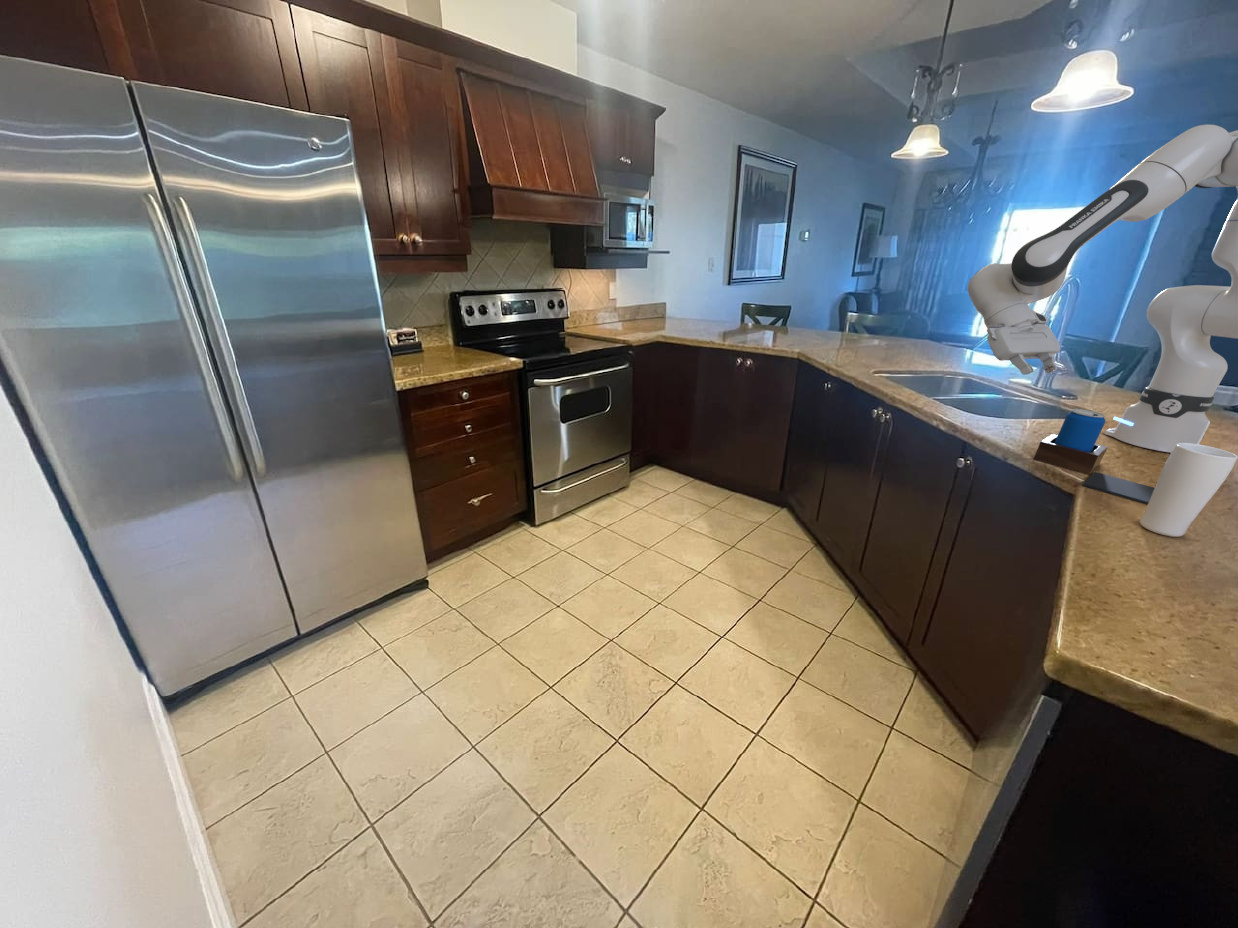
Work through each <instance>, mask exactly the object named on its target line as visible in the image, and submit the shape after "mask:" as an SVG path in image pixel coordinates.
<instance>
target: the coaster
mask: <svg viewBox="0 0 1238 928" xmlns="http://www.w3.org/2000/svg"><path fill="white" fill-rule="evenodd" d="M1081 486H1082V487H1085V488H1087V489H1088V488H1089V489H1093V490H1096V491H1100V492H1103V493H1107V494H1110V495H1114V496H1116V497H1120V498H1124V499H1127V500H1131V501H1134V502H1138V503H1141V504H1145V505H1148V503H1149V501H1150V498H1151V496H1152V493H1153V491H1154V488H1155V486H1154V487H1153V486H1151V485H1146V484H1143V483H1139V482H1135V481H1131V480H1127V479H1123V478H1119V477H1116V476H1112V475H1109V474H1104V473H1101V472H1098V471H1097V472H1096V471H1093V472H1092V474H1090V476H1089V477H1088V478H1087V480H1085V481H1084V482H1083V483H1082V485H1081Z"/></svg>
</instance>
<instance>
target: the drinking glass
mask: <svg viewBox="0 0 1238 928" xmlns="http://www.w3.org/2000/svg"><path fill="white" fill-rule="evenodd" d="M1200 444H1201V443H1200ZM1200 444H1193V443H1178V444H1176V446H1175V448H1174V449H1173V451H1172V452H1171V453H1170V454H1169V455H1168V457H1167V458H1166V461H1165V463H1164V465H1163V466H1162V469H1161V472H1160V474H1159V476H1158V478H1157V481H1156V484H1155V486H1154V491H1153V493H1152V496H1151V498H1150V501H1149V503H1148V504H1146V505H1147V506H1146V508H1145V510H1144V512H1143V514H1142V516H1141V518H1140V520H1139V524H1140V525H1141V527H1143V528H1144V529H1146V530H1148V531H1150V532H1152V533H1155V534H1158V535H1162V536H1166V537H1173V538H1179V537H1182V536H1184V535H1185V534H1186V532H1187V531H1188V529H1189V527H1190V526H1191V525H1192V523H1193V522H1194V521H1195V519H1196V518H1197V517H1198V516H1199V514H1200V513H1201V511H1202V510H1203V509H1204V508H1205V507H1206V505H1207V504H1208V503H1209V501H1210V500H1211V499H1212V497H1214V495H1215V494H1216V493H1217V491H1218V490H1219V489H1220V488H1221V486H1222V485H1223V484H1224V482H1225V481H1226V479H1227V478H1228V477H1229V475H1230V473H1231V471H1232V470H1233V468H1234V466H1235V464H1236V462H1237V460H1238V455H1237V454H1236V453H1233V452H1231V451H1228V450H1225V449H1223V448H1219V447H1214V446H1209V445H1205V444H1201V445H1200Z"/></svg>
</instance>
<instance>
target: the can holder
mask: <svg viewBox="0 0 1238 928" xmlns="http://www.w3.org/2000/svg"><path fill="white" fill-rule="evenodd" d="M1057 436H1058V434H1054V433H1052V434H1049V435H1048V436H1047V437H1045V438H1044V439H1042V440H1041V441H1040V442H1039V445H1038V446H1037V448H1036V451H1035V454H1034V455H1033V459H1032V460H1035V461H1038V462H1041V463H1045V464H1049V465H1051V466H1052V465H1053V466H1057V467H1059V468H1064V469H1067V470H1071V471H1075V472H1077V473H1078V472H1079V473H1082V474H1086V475H1091V473H1093V472H1094V471H1095V469H1096V468H1097V467H1099V466H1100V464H1101V462H1102V460H1103V457H1104V456H1105V453H1106V451H1107V450H1108V446H1106V445H1102V444H1098V443H1095V445H1094V447H1093V449H1092V451H1091V452H1087V451H1083V450H1079V449H1075V448H1071V447H1067V446H1063V445H1059V444H1054V443H1055V441H1056V439H1057Z"/></svg>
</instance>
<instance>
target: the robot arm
mask: <svg viewBox="0 0 1238 928" xmlns="http://www.w3.org/2000/svg"><path fill="white" fill-rule="evenodd" d="M1231 187H1235V188H1236V191H1237V193H1238V129H1237V130H1234V131H1228V130H1226V128H1223V127H1222V126H1219V125H1216V124H1199V125H1195V126H1193V127H1192V128H1189V129H1187V130H1185V131H1184V132H1182V133H1180V134H1179V135H1177V136H1175V137H1174V138H1172V139H1171V140H1169V141H1168V142H1167V143H1165V144H1164V145H1162V146H1161V147H1159V148H1157V150H1155V151H1154V152H1151V154H1150V155H1148V156H1147V157H1146V158H1145V159H1143V160H1142V161H1141V162H1139V163H1138V164H1137V165H1136V166H1134V167H1133V168H1132V169H1131V170H1130V171H1129V172H1127V173H1126V174H1125V175H1124V176H1123V177H1121V178H1120V180H1118V181H1117V182H1116V183H1115V184H1114V185H1112V186H1111V187H1110V188H1109V189H1108V190H1107V191H1105V192H1103V193H1102V194H1101V195H1099V196H1098V197H1097V198H1095V199H1093V201H1091V202H1090V203H1088V204H1087V205H1086V206H1085V207H1083V208H1082V209H1081V210H1079V211H1077V213H1076V214H1074V215H1072V217H1069V219H1067V220H1066V221H1065V222H1063V223H1062V224H1061V225H1059V226H1058V227H1056V228H1055V229H1052V230H1051V231H1049V232H1047V233H1045V234H1043V235H1040V236H1038V237H1035V238H1033V239H1032V240H1030V241H1028V242H1026V243H1025V244H1024V245H1022V246H1021V247H1020V248H1019V249H1018V250H1017V251H1016V252H1015V254H1014V256H1013V258H1012V259H1011V262H1010V263H997V262H993V263H989V264H988V265H987V264H986V265H985V266H983V267H982V268H981V269H979V270H978V271H976V272H975V273H974V275H973V276H972V277H971V278H970V280H969V281H968V284H967V292H968V296H969V298H970V300H971V302H972V304H973V306H974V308H975V310H976V312H977V313H979V314H980V315H981V316H982V318H983V323H984V325H985V327H986V333H987V337H986V339H987V342H988V345H989V347H990V350H991V352H992V353H993V356H994V357H995V358H996V359H997V360H998V361H1002V362H1003V361H1009V362H1010V363H1011V364H1012V365H1013V366H1015V368H1017V369H1018V370H1019V372H1020V373H1021V375H1024V376H1025V375H1026V376H1027V375H1030V374H1031V373H1033V372H1034V368H1033V366H1032V365H1031V364H1029V363H1028V362H1027V361H1026V360H1036V359H1037V360H1039V361H1040V362H1042V364H1043V367H1042V368H1043V370H1044V372H1045V374H1052V373H1054V372H1056V371H1057V370H1058V367H1057V365H1056V364H1055V357H1054V355H1055V354H1057V353H1059V352H1060V351H1061V345H1060V342H1059V341H1058V338H1057V337H1056V335H1055V333H1054V332H1053V330H1052V328H1051V327H1050V326H1049V325H1048V322H1049V320H1048V318H1047V317H1046V316H1045V315H1044V314H1042V313H1039V312H1038V311H1035V310H1034V309H1032V308H1031V307H1030V306H1029V305H1030V304H1033V303H1036V302H1038V301H1041V300H1044V299H1047V298H1050V297H1051V296H1052V295H1054V294H1055V293H1056V292H1058V291H1059V290H1060V289H1061V288H1062V286H1063V284H1064V281H1065V278H1066V275H1067V270H1068V267H1069V265H1070V262H1071V261H1072V258H1073V257H1074V255H1075V254H1076V253H1077V252H1078V250H1080V249H1081V248H1082V247H1084V246H1085V244H1087V243H1088V242H1090V241H1091V240H1093V239H1094V238H1095V237H1097V236H1098V235H1099V234H1101V233H1102V232H1103V231H1105V230H1106V229H1107V228H1109V227H1110V226H1111V225H1113V224H1114V223H1117V222H1118V221H1122V222H1129V223H1137V222H1142V221H1146V220H1149V219H1150V218H1152V217H1153V216H1155V215H1157V214H1159V213H1160V212H1162V211H1164V210H1165V209H1167V208H1168V207H1169V206H1171V205H1173V204H1174V203H1175V202H1176V201H1178V200H1179V199H1180V198H1181V197H1183V196H1184V195H1186V194H1187V193H1188V192H1189V191H1190V190H1192V189H1193V188H1198V189H1212V188H1231ZM1236 197H1237V198H1236V201H1235V202H1234V204H1233V206H1232V208H1231V210H1230V212H1229V214H1228V216H1227V218H1226V221H1225V222H1224V224H1223V227H1222V230H1221V232H1220V234H1219V236H1218V238H1217V240H1216V243H1215V245H1214V246H1213V249H1212V252H1211V259H1212V262H1213V263H1214V264H1215V265H1216V266H1218V267H1219V268H1221V269H1224V270H1226V271H1227V272H1228V274H1229V275H1230V278H1231V284H1230V286H1227V285H1226V286H1224V285H1204V284H1203V285H1201V284H1195V285H1193V284H1192V285H1183V286H1176V287H1175V286H1174V287H1169V288H1166V289H1165V290H1163V291H1161V292H1160V293H1158V294H1157V295H1156V296H1155V297H1154V298H1153V299H1152V300H1151V302H1150V303H1149V305H1148V307H1147V309H1146V319H1147V322H1148V324H1149V325H1150V326H1152V328H1154V330H1155V331H1156V333H1157V334H1158V337H1159V340H1160V344H1161V353H1160V358H1159V361H1158V364H1157V367H1156V368H1155V371H1154V374H1153V376H1152V378H1151V380H1150V382H1149V384H1148V385H1147V386H1145V387H1144V389H1143V391H1142V392H1141V395H1140V396H1139V401H1138V402H1137V403H1134V404H1131V405H1129V406H1127V407H1126V408H1125V410H1124V412H1123V414H1122V416H1121V417H1117V416H1113V420H1114V421H1117V422H1118V423H1117V425H1116V426H1115V427H1112V428H1108V429H1105V430H1104V431H1103V435H1106V436H1109V437H1112V438H1114V439H1117V440H1118V441H1120V442H1123V443H1126V444H1129V445H1132V446H1135V447H1136V446H1137V447H1140V448H1144V449H1149V450H1153V451H1158V452H1164V453H1170V454H1171V452H1172V451H1173V449H1174V448H1175V446H1176V444H1178V443H1193V444H1200V445H1202V444H1201V441H1202V440H1203V439H1204V437H1205V434H1206V432H1207V430H1208V429H1209V427H1210V424H1211V421H1210V420H1209V418H1208V417H1207V415H1206V412H1208V411H1209V409H1210V407H1211V406H1212V405H1213V402H1214V399H1215V397H1214V394H1215V393H1216V391H1217V389H1218V387H1219V385H1220V384H1221V382H1222V380H1223V378H1224V377H1225V375H1226V373H1227V371H1228V368H1229V367H1228V362H1227V360H1226V359H1225V358H1224V357H1223V356H1222V355H1221V354H1219V353H1217V352H1215V351H1214V349H1212V346H1211V337H1219V338H1220V337H1221V338H1230V339H1236V340H1237V339H1238V196H1236Z"/></svg>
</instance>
